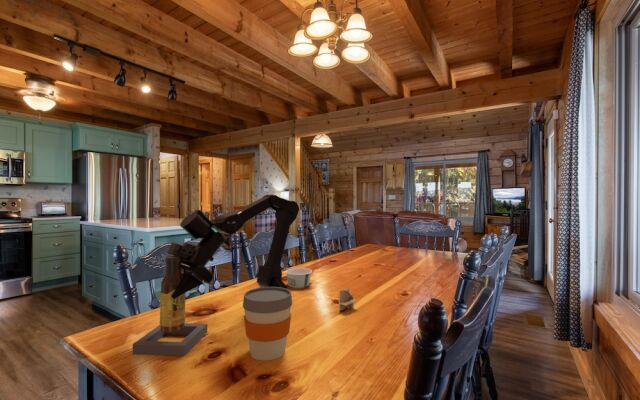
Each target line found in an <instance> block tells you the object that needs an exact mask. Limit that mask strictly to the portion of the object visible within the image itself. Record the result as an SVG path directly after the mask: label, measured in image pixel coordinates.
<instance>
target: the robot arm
mask: <svg viewBox="0 0 640 400" xmlns="http://www.w3.org/2000/svg"><path fill="white" fill-rule="evenodd" d="M269 209H271V210H272V211H274V213H275V214H274V215H275V220H276V224H275V229H274V232H273V236H272V240H271V244H270V248H269V250H268V256H267V259H266V262H264V264H263V265H259V266H258V269H257V274H256V276H255V277H256V282H257V284H258V287H259V288H261V287H281V288H285V289H288V285H286V283H284V282H283V281H282V279H283V277H282V276H283V272H282V267H281V264H282V259H283V256H284V252H285V251H284V250H285V247H286V243H287V239H288V237H289V236H288V235H289V231H290V228H291V225H292V224H293V223H294V222H295V220H296V219H297V217H298V214H299V212H300V206H299V204H298V203H297V201H294V200H289V199H285V198H283V197H279V196H277V194H265V195H263V196H262V197H260V198H258V199H256V200H255V201H253V202H251V203H250V204H247V205H246V206H244V207H241V208H240V209H237V210H233V211H229V212H226V213H223V214H219V215H218V216H216V217H215V218H214V219H211V220H210V219H209V218H208V217H207V216H206V215H205V214H204V211H202V210H201V209H195V211H194V212H192V213H190V214H188V215H187V216H185V217H184V218H183V219H182V220H181V222H180V224H179V226H180V228H182V229H183V230H184V231H185V232H186V233H188V234H189V236H191V237H192V238H193V239H194V240H198V239H200V240H199V242H198V243H197V244H196V245H195V244H191V243H188V242H184V243H183V244H179V243H175V242H171V243H170V246H169V247H168V250H167V254H169V255H170V256H180V257H182V262H181V273H182V276H183V279H182V280H181V282H180V283H179V285H178V286H177V288H176V289H175V291H174V292H173V294H172V296H171V297H172V298H173V299H175V298H177V297H179V296H181V295H182V294H184V293H187V292H190V291H191V290H194V289H195V288H197V287H200V286H202V285H204V284H206V285H211V283H213V282H212V281H213V280H214V279H215V278H214V277H215V276H214V273H213V272H212V271H211V270H210V269H208V268H207V267H206V266H207V264H208V263H209V262H213V261H214V260H215V258H214V256H215V255H216V253H217V252H218V250H219V249H220V248H221V247H222V246H224V247H230V246H231V243H230V237H229V236H228V237H227V236H224V235H223V234H227V235H234V234H236V233H237V232H238V231H239V230H241V229H242V228H243V227H245V226H244V225H245V224H246V223H247V222H248V221H250V220H251V219H253V218H254V217H257V216H258V215H260V214H262V213H264V212H265V211H267V210H269ZM203 282H204V283H203Z"/></svg>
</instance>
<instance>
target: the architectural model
mask: <svg viewBox="0 0 640 400" xmlns="http://www.w3.org/2000/svg"><path fill="white" fill-rule="evenodd" d="M355 302H357V299H355V298H354V296H353V294H351V292H350V287H347V288H344V289H342V290H339V302H338V303H337V304H338V305H339V311H340V312H341V311H342V310H345V309H347V310H348V309H349V310H351V308H354V303H355Z"/></svg>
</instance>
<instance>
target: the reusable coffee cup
mask: <svg viewBox="0 0 640 400" xmlns="http://www.w3.org/2000/svg"><path fill="white" fill-rule="evenodd" d="M292 297H293V296H292V291H291V290H290V289H288V288H287V289H285V288H281V287H261V288H260V287H257V288H252V289H250V290H247V291H246V292H245V293H244V294H243V300H242V301H243V302H242V307H243V309H244V316H243V322H244V330H245V336H246V338H248V339H247V340H248V345H249V346H248V347H249V354H250V357H251V358H253V359H254V360H256V361H257V360H258V361H267V362H268V361H273V360H276V359H280V358H281V357H282V356H284V354H285V353H286V348H287V339H288V335H289V334H290V328H291V323H292V322H291V320H292V312H291V310H292V309H291V308H292V306H293V299H292Z"/></svg>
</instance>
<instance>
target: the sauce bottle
mask: <svg viewBox="0 0 640 400" xmlns="http://www.w3.org/2000/svg"><path fill="white" fill-rule="evenodd" d="M181 262H182V257H180V256H174V255H168V256H166V257H165V263H166V264H165V266H166V267H165V268H166V269H165V274H164V277H163V278H162V280H161V283H160V299H159V301H160V302H159V303H160V304H159V305H160V306H159V307H160V308H159V309H160V311H159V325H161V327H160V329H161V331H162V332H164V333H172V332H177V331H179V330H181V329H183V327H184V325H185V323H186V293H187V292H186V293H184V294H182V295H181V296H179V297H177V298H175V299H173V298H172V297H171V296H172V294H173V292H174V291H175V289H176V288H177V286H178V285H179V283H180V282H181V280H182V279H183V276H182V273H181Z"/></svg>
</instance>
